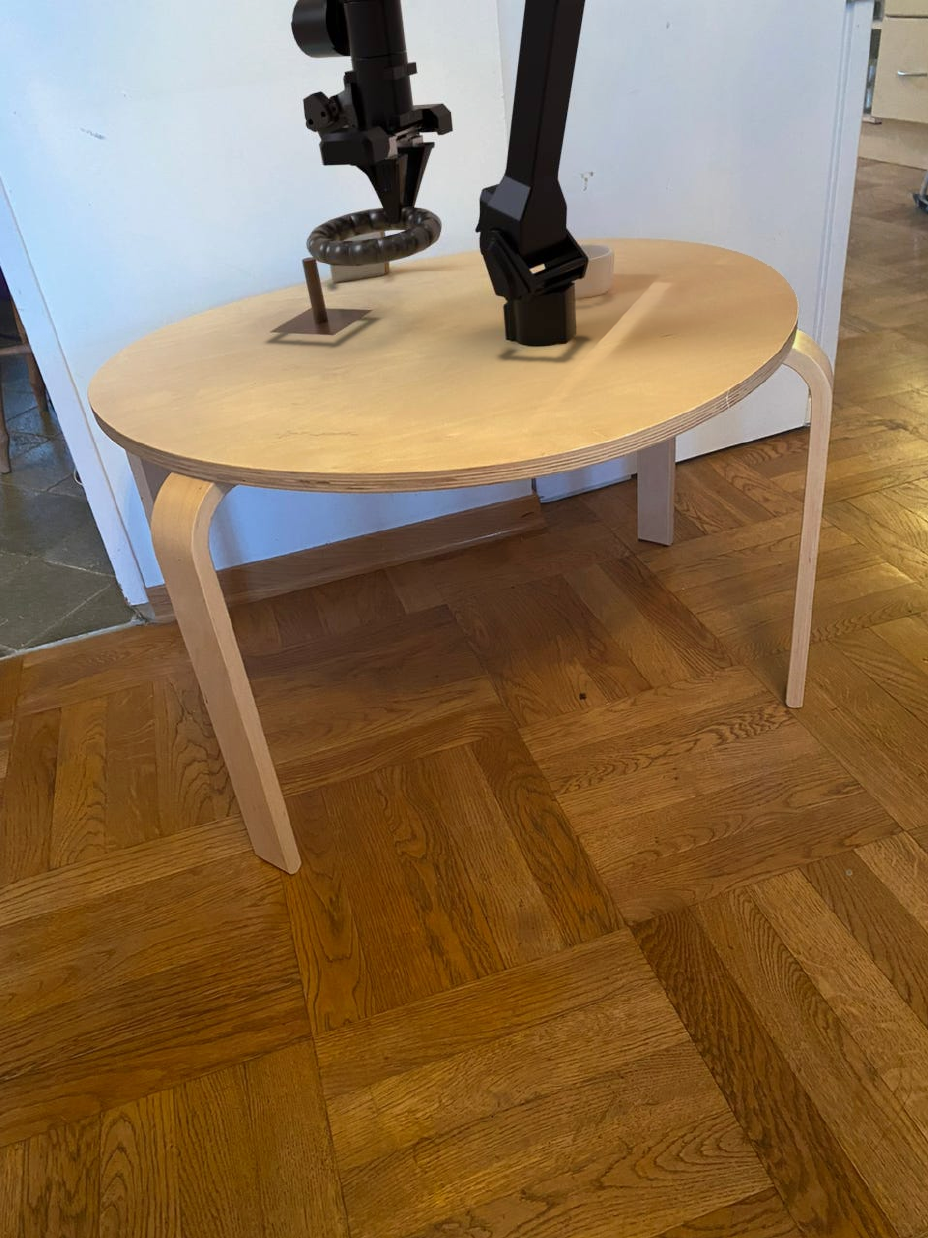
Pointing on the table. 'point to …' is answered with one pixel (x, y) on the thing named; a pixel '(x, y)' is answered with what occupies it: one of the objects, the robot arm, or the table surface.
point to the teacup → (596, 270)
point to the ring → (337, 252)
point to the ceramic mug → (359, 271)
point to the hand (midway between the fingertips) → (401, 220)
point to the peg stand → (319, 310)
